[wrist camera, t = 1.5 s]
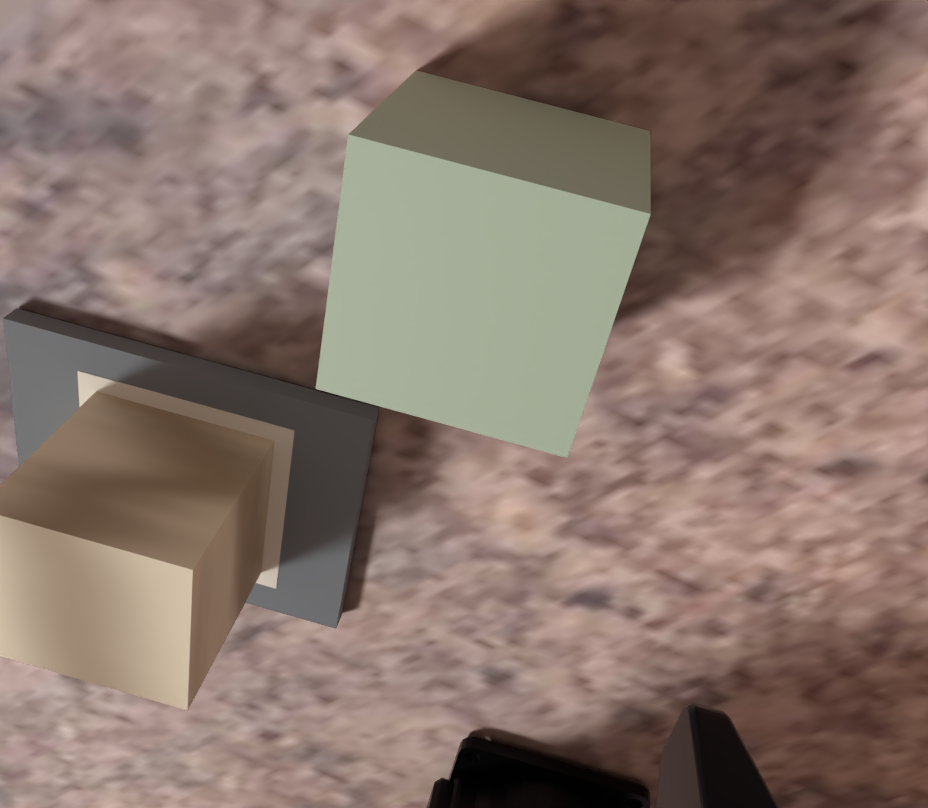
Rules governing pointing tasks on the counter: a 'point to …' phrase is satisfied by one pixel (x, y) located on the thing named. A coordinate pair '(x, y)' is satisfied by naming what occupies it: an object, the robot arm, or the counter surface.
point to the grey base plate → (229, 405)
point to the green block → (481, 259)
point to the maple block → (132, 547)
